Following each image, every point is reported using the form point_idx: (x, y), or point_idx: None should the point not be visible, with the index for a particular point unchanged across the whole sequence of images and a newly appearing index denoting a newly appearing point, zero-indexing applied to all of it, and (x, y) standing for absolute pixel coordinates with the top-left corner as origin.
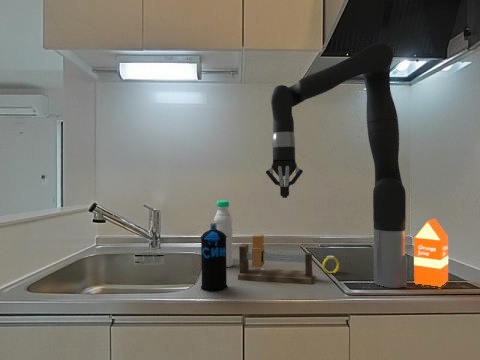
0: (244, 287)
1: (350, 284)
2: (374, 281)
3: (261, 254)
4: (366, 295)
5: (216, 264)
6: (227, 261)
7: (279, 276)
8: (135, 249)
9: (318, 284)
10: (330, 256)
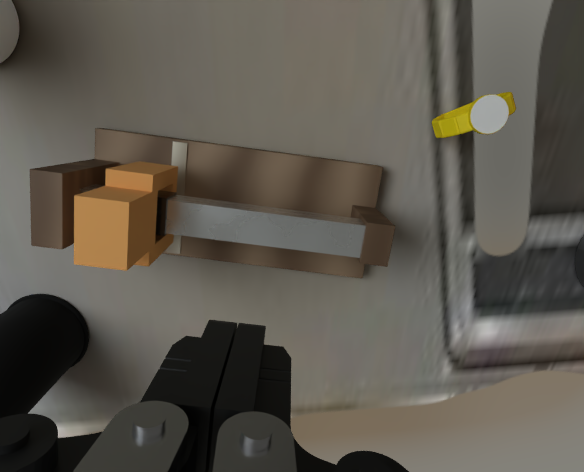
0: (143, 325)
1: (490, 267)
2: (579, 257)
3: (158, 243)
4: (503, 367)
5: None
6: None
7: (250, 253)
8: None
9: (383, 275)
10: (489, 115)
